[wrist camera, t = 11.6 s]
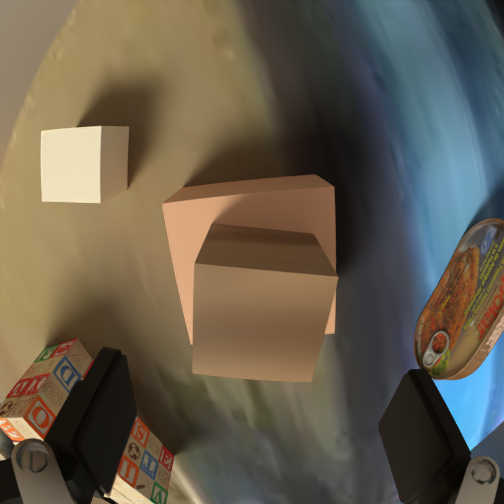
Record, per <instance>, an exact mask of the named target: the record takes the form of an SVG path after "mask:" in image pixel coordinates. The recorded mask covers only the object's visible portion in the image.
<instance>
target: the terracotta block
mask: <svg viewBox="0 0 504 504" xmlns="http://www.w3.org/2000/svg"><path fill="white" fill-rule="evenodd" d="M162 206H163V212H164V218H165V224H166V230H167V235H168V241H169V246H170V251H171V256H172V261H173V266H174V271H175V276H176V281H177V286H178V290H179V295H180V300H181V304H182V309H183V313H184V317H185V322H186V326H187V330H188V334H189V338H190V342H191V345H193V288H194V263H195V261H196V258H197V256H198V254H199V251H200V249H201V247H202V244H203V242H204V240H205V237H206V235H207V233H208V231H209V228H210V226H211V224H212V223H213V224H223V225H234V226H244V227H254V228H264V229H273V230H283V231H292V232H301V233H311V234H314V235H315V237H316V239H317V240H318V242H319V244H320V245H321V247H322V249H323V251H324V252H325V254H326V256H327V257H328V259H329V261H330V263H331V264H332V266H333V268H334V270H335V271H336V224H335V193H334V186H332V185H331V184H329V183H328V182H326V181H325V180H323V179H322V178H320V177H319V176H317V175H316V174H315V175H300V176H287V177H275V178H263V179H253V180H242V181H233V182H224V183H215V184H206V185H198V186H190V187H183V188H181V189H180V190H179V191H177V192H176V193H175V194H174V195H172V196H171V197H170V198H168V199H167V200H166V201H165V202H163V203H162ZM335 301H336V290H335V294H334V299H333V303H332V307H331V311H330V315H329V319H328V323H327V327H326V330H325V334H330V333H334V332H335Z"/></svg>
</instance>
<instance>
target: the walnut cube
mask: <svg viewBox="0 0 504 504" xmlns="http://www.w3.org/2000/svg"><path fill="white" fill-rule="evenodd" d="M337 281H338V275H337V273H336V271H335V270H334V268H333V266H332V264H331V263H330V261H329V259H328V257H327V256H326V254H325V252H324V251H323V249H322V247H321V245H320V244H319V242H318V240H317V239H316V237H315V235H314V234H311V233H301V232H292V231H283V230H273V229H264V228H254V227H244V226H234V225H223V224H213V223H212V224H211V226H210V228H209V231H208V233H207V235H206V237H205V240H204V242H203V244H202V247H201V249H200V251H199V254H198V256H197V258H196V261H195V263H194V288H193V347H192V369H193V373H194V374H202V375H211V376H220V377H231V378H242V379H255V380H271V381H292V382H311V380H312V377H313V374H314V370H315V367H316V363H317V360H318V356H319V353H320V349H321V345H322V342H323V338H324V334H325V330H326V327H327V323H328V319H329V315H330V311H331V307H332V303H333V299H334V294H335V290H336V286H337Z"/></svg>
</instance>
